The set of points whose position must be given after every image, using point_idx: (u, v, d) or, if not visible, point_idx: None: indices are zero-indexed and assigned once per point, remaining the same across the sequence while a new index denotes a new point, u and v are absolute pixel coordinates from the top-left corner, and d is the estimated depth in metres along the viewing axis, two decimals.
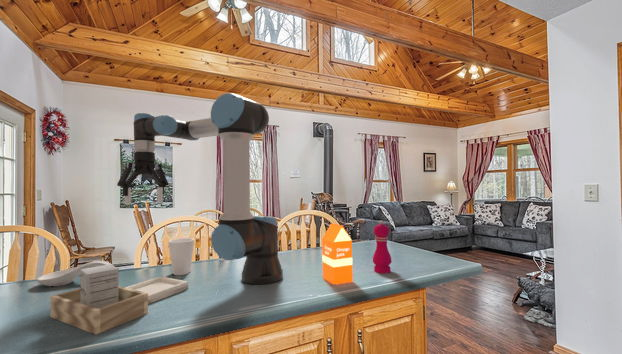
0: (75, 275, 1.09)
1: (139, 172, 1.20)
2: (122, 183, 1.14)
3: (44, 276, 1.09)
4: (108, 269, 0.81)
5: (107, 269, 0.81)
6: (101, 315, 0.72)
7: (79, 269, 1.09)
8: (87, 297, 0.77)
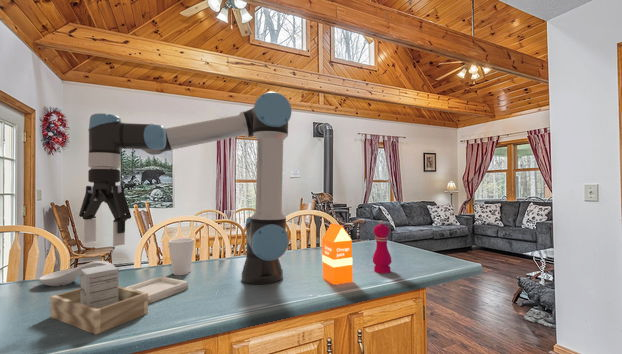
0: (76, 275, 1.09)
1: (91, 199, 0.86)
2: (80, 213, 0.89)
3: (46, 276, 1.09)
4: (108, 269, 0.81)
5: (107, 269, 0.81)
6: (101, 315, 0.72)
7: (80, 269, 1.09)
8: (87, 297, 0.77)
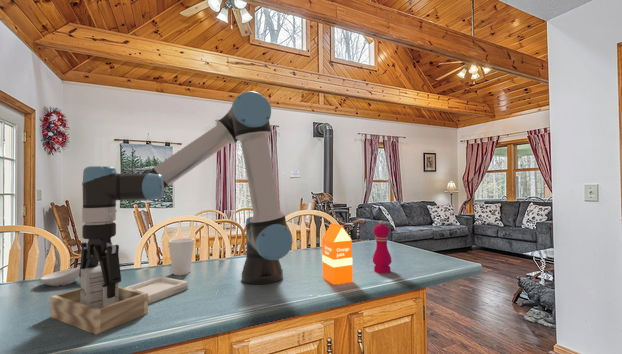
0: (77, 275, 1.09)
1: (87, 256, 0.82)
2: (80, 273, 0.84)
3: (48, 275, 1.10)
4: None
5: None
6: (101, 315, 0.72)
7: None
8: (87, 297, 0.77)
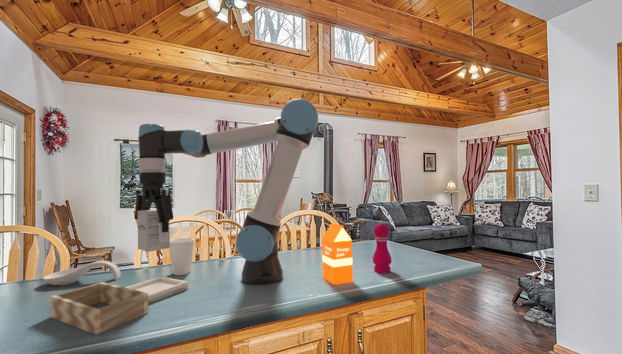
0: (79, 275, 1.09)
1: (143, 200, 0.97)
2: (135, 216, 1.00)
3: (51, 275, 1.10)
4: None
5: None
6: (101, 315, 0.72)
7: (83, 269, 1.09)
8: (146, 230, 0.93)
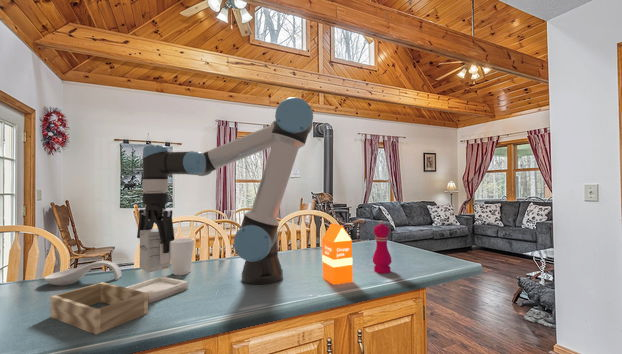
0: (80, 275, 1.09)
1: (145, 220, 0.99)
2: (138, 235, 1.01)
3: (52, 275, 1.10)
4: None
5: None
6: (101, 315, 0.72)
7: (83, 269, 1.09)
8: (148, 251, 0.94)
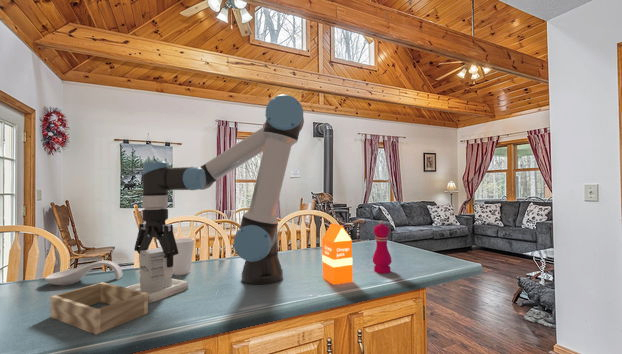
0: (81, 275, 1.09)
1: (144, 235, 0.99)
2: (135, 248, 1.02)
3: (53, 275, 1.10)
4: None
5: None
6: (101, 315, 0.72)
7: (85, 269, 1.09)
8: (149, 272, 0.94)
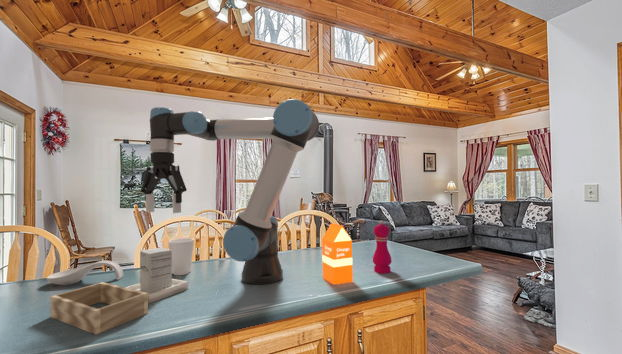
0: (82, 274, 1.09)
1: (152, 177, 1.06)
2: (142, 189, 1.09)
3: (54, 274, 1.11)
4: (163, 250, 0.98)
5: (163, 250, 0.98)
6: (101, 315, 0.72)
7: (85, 269, 1.09)
8: (149, 272, 0.94)
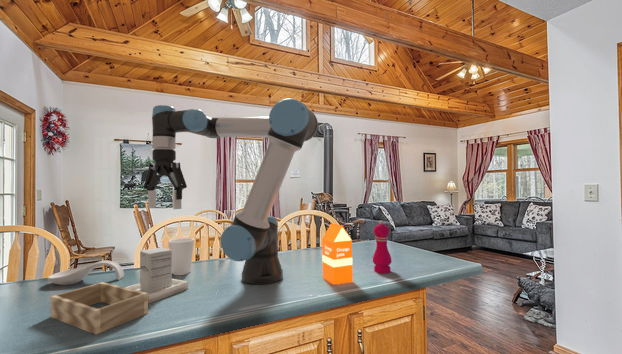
0: (82, 274, 1.09)
1: (154, 173, 1.08)
2: (144, 186, 1.11)
3: (56, 274, 1.11)
4: (164, 250, 0.98)
5: (163, 250, 0.98)
6: (101, 315, 0.72)
7: (86, 269, 1.09)
8: (149, 272, 0.94)
